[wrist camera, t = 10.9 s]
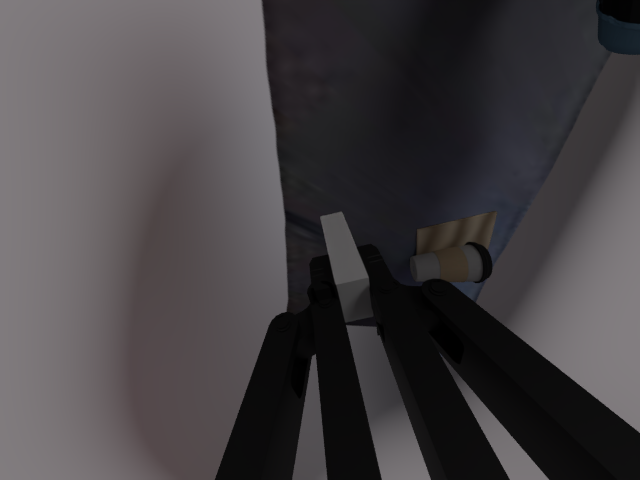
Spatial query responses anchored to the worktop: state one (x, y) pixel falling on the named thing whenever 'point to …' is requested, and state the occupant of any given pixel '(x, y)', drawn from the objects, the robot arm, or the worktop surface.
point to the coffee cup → (453, 264)
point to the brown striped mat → (456, 233)
